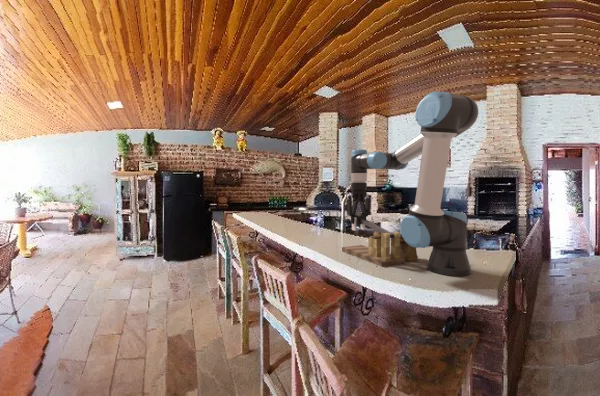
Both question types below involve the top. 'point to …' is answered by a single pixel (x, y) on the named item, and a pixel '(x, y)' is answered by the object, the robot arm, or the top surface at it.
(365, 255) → the nutcracker base
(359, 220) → the lever
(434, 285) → the top surface
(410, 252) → the wooden mug
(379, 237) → the walnut
